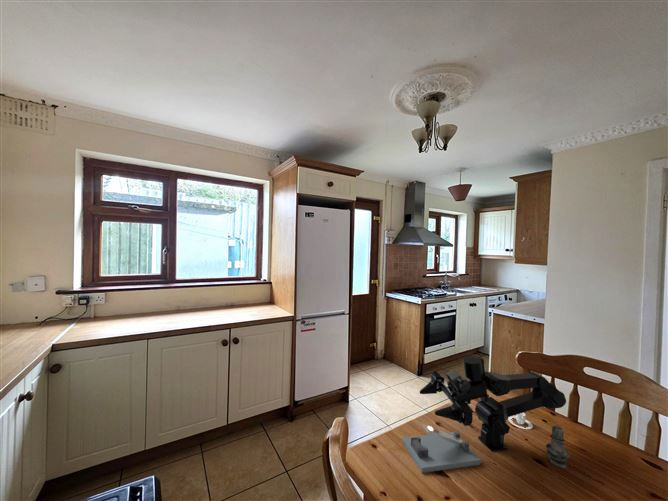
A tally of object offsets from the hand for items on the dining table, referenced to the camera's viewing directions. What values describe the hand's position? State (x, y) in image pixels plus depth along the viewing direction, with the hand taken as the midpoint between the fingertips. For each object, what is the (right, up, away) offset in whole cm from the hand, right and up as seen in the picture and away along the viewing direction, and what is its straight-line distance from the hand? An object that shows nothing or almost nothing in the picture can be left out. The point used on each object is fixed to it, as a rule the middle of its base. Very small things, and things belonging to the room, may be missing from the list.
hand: (427, 402), depth 88 cm
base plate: (+4, -17, 0) cm, 17 cm away
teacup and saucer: (+46, -18, +18) cm, 52 cm away
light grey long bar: (+6, -12, 0) cm, 13 cm away
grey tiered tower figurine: (+41, -18, -2) cm, 45 cm away
